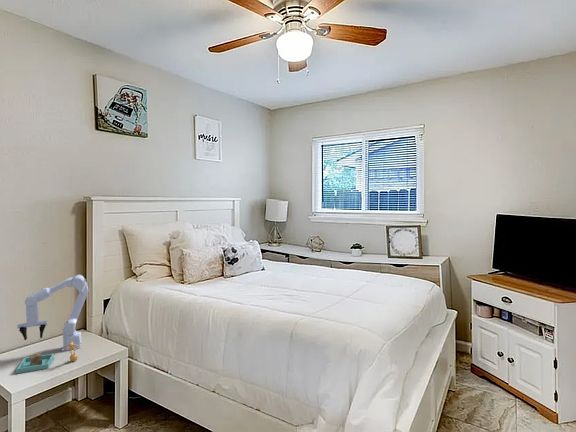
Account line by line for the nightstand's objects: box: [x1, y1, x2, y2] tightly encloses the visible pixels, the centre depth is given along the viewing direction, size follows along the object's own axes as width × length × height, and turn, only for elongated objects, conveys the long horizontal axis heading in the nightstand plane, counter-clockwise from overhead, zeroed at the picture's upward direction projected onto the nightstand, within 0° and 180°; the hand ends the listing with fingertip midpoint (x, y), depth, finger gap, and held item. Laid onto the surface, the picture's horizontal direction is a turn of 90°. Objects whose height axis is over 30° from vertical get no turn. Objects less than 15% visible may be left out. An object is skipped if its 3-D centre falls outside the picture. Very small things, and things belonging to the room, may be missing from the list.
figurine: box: [64, 341, 81, 362], centre depth 199 cm, size 8×6×12 cm
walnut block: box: [29, 352, 43, 366], centre depth 195 cm, size 4×4×5 cm
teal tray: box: [15, 353, 55, 375], centre depth 195 cm, size 14×14×2 cm
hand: (33, 338), depth 208 cm, fingers open, 7 cm apart
